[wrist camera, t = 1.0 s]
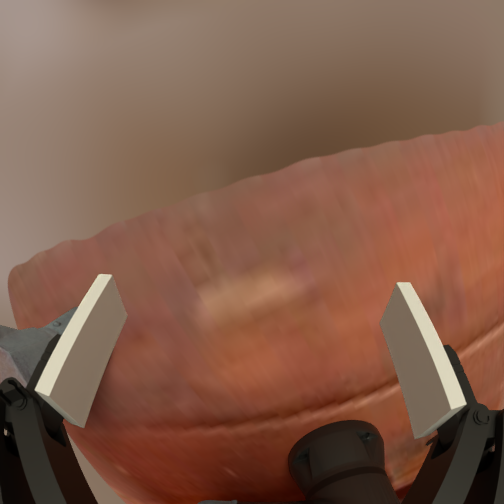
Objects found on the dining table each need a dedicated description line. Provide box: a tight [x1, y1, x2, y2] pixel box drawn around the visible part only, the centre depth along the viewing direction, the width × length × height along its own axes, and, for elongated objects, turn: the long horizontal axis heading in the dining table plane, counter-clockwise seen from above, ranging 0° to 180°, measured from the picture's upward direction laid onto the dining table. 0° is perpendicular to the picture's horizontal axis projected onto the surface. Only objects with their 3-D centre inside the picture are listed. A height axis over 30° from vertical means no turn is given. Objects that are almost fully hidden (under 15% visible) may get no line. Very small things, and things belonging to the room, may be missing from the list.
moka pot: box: [0, 307, 78, 422], centre depth 23 cm, size 10×15×20 cm, turn 14°
